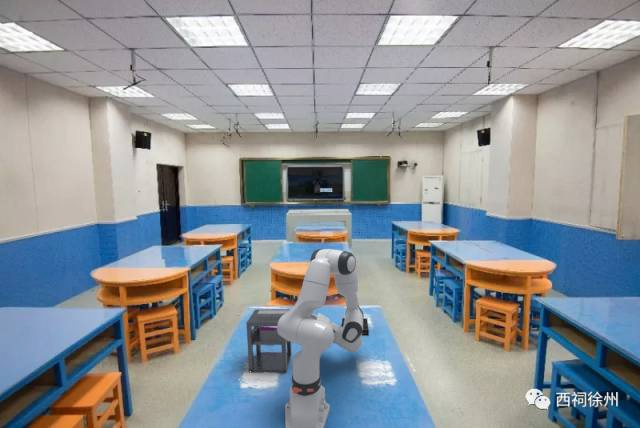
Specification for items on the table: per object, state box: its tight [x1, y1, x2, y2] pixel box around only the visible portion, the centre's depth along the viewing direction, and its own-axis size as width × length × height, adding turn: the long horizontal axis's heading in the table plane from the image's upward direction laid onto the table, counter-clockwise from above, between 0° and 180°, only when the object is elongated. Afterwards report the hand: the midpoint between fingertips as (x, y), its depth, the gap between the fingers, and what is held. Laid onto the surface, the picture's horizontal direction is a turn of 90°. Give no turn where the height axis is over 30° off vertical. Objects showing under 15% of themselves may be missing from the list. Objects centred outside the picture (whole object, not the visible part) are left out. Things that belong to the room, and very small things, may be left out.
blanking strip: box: [257, 309, 291, 317], centre depth 160 cm, size 4×24×2 cm, turn 86°
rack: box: [246, 308, 293, 374], centre depth 162 cm, size 16×20×26 cm
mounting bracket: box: [260, 327, 277, 331], centre depth 191 cm, size 9×8×18 cm
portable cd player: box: [341, 317, 369, 337], centre depth 199 cm, size 16×17×4 cm
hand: (307, 318), depth 159 cm, fingers open, 8 cm apart
